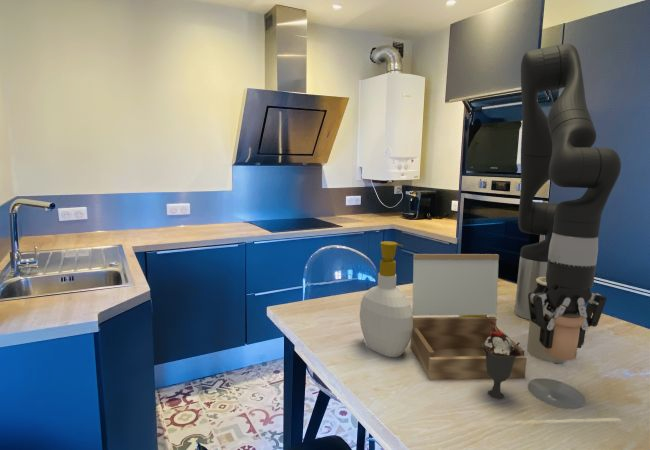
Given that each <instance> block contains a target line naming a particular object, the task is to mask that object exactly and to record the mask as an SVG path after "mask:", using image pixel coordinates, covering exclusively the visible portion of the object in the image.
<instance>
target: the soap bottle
mask: <svg viewBox="0 0 650 450" xmlns="http://www.w3.org/2000/svg"><path fill="white" fill-rule="evenodd" d="M397 246H400V247H404V245H403V244H400V243H397V242H396V241H389V240H388V241H380V249H381V250H380V251H381V258H382V259H380V260H379V272H378V274H377V285H376V286H372V287H371V288H369V289H368V290H367V291H366V292H364V294H363V295H362V298H361V301H360V307H359V308H360V309H359V319H360V320H359V321H360V322H359V325H360V328H361V331H362V335H363V339H364V341H365V344H366V346H367V347H368V348H369V349H371V350H372V351H374V352H376V353H378V354H379V355H382V356H386V357H389V358H398V357H401V356H403V354H404V353H405V352H406V349H407V347H408V346H409V345H410V342H411V334H412V328H413V318H414V316H413V314H412V307H411V306H412V305H411V302H410V301H409V300H408V298H407V296H406V295H405V293H403V292H402V291H401V290H400V289H399V288H397V277H398V276H397V273H396V272H397V271H396V269H397V267H396V266H397V261H396V260H394V259H395V257H396V252H397V251H396V250H397Z"/></svg>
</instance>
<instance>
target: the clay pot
mask: <svg viewBox="0 0 650 450" xmlns="http://www.w3.org/2000/svg"><path fill="white" fill-rule="evenodd" d="M551 312H552V313H554V312H555V311H554V310H553V309H551ZM549 318H550V316H549V315H547V320H549ZM583 323H584V317H581V316H580V315H579V314H578V312H577V314H571V313H566V314H562V316H561V317H558V319H555V320H554V324H555V325H554V327H553V329H552V330H554V333H553V341H552V348H551V349H547V348H545V349H544V350H545V352H546V353H547V354H548V355H550V356H552V357H555V358H558V359H562V360H565V361H573V360H576V358H577V355H578V348H577V347H578V340H579V333H580V327H581V326H583Z"/></svg>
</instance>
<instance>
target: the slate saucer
mask: <svg viewBox="0 0 650 450" xmlns="http://www.w3.org/2000/svg"><path fill="white" fill-rule="evenodd" d="M527 389H528V391H529V393H531V395H532V396H533V397H535V398H536V399H538V400H539V401H541V402H543V403H545V404H547V405H550V406H553V407H557V408H561V409H567V410H568V409H570V410H573V409H579V408H582V407H583V406H585V404H586V398H585V396H584V395H583V393H582V392H581V391H580V390H578V389H577V388H576V387H574V386H572V385H569V384H568V383H565V382H562V381H559V380H556V379H552V378H533V379H531V380H530V381H529V382H528V384H527Z"/></svg>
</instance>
